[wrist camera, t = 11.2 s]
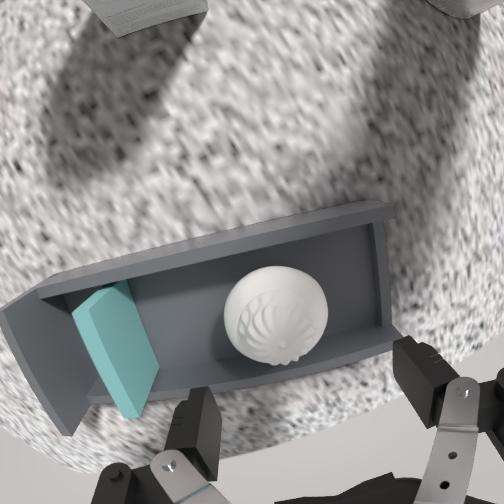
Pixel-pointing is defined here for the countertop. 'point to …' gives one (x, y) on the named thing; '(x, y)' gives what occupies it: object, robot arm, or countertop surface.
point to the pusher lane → (209, 308)
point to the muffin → (275, 314)
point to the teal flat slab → (118, 346)
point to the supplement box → (142, 12)
